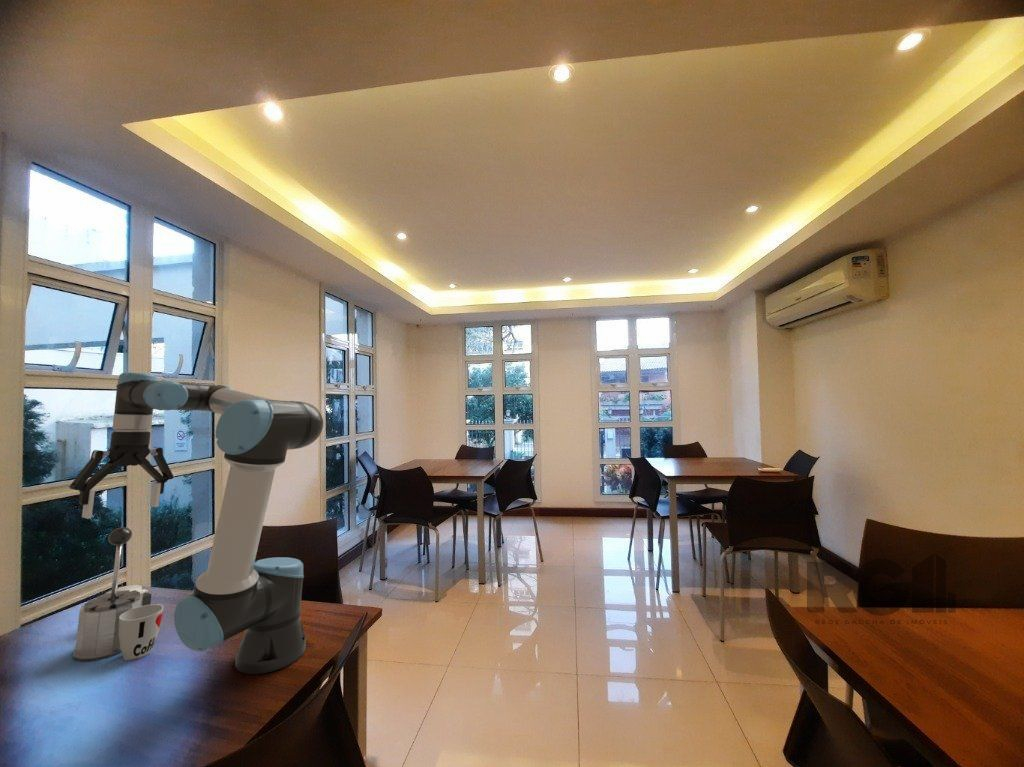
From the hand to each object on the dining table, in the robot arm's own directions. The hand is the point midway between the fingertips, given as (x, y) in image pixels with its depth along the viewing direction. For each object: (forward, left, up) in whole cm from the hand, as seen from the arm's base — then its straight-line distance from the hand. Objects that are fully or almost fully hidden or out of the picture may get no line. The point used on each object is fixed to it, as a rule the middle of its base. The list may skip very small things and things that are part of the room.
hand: (122, 511), depth 103 cm
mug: (+11, -7, -34) cm, 36 cm away
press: (0, 0, -34) cm, 34 cm away
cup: (-10, -2, -34) cm, 35 cm away
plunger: (0, 0, -24) cm, 24 cm away
